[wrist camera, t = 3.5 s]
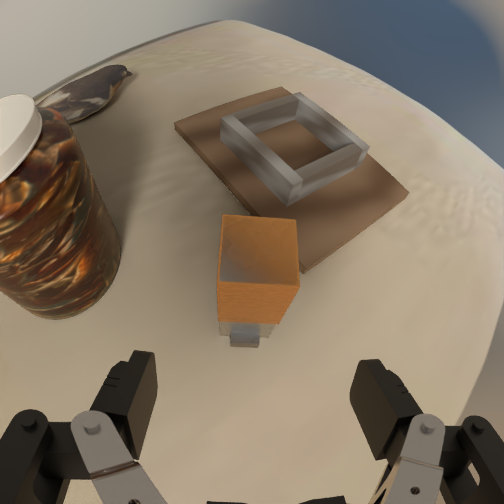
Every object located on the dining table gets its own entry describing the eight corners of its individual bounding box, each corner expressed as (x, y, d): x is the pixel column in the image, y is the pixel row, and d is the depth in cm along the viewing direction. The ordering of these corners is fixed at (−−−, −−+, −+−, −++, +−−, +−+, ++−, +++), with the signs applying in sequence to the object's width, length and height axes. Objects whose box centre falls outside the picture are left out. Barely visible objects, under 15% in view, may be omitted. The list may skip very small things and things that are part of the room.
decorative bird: (148, 91, 38) (145, 61, 33) (-5, 199, 27) (-24, 171, 23) (125, 79, 39) (120, 52, 35) (-15, 176, 29) (-32, 150, 24)
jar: (99, 189, 29) (54, 59, 16) (140, 282, 24) (74, 139, 11) (5, 241, 25) (-72, 137, 12) (27, 344, 21) (-100, 259, 7)
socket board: (175, 129, 34) (172, 101, 30) (280, 92, 39) (284, 68, 36) (303, 273, 26) (315, 249, 23) (405, 198, 32) (421, 174, 28)
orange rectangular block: (269, 348, 23) (300, 301, 14) (218, 345, 23) (215, 297, 14) (269, 284, 25) (295, 208, 17) (222, 281, 25) (223, 203, 16)
